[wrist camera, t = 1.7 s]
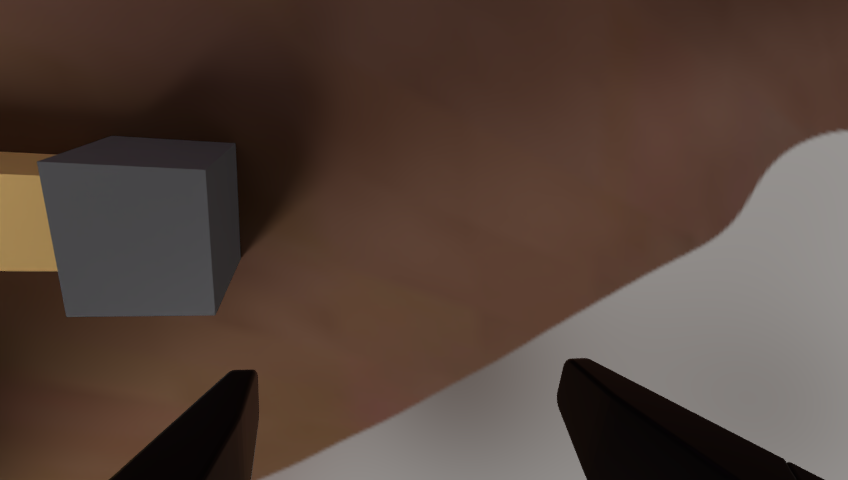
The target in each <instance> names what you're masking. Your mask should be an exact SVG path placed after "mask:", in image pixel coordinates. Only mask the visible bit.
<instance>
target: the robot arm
mask: <svg viewBox="0 0 848 480" xmlns="http://www.w3.org/2000/svg"><path fill="white" fill-rule="evenodd" d="M557 403H558V407H559V410H560V412H561V415H562V418H563V420H564V422H565V425H566V428H567V430H568V433H569V436H570V438H571V440H572V443H573V446H574V448H575V451H576V453H577V456H578V458H579V461H580V463H581V466H582V469H583V471H584V473H585V476H586V478H587V480H824V479H822V478H820V477H818V476H816V475H814V474H812V473H810V472H808V471H806V470H804V469H802V468H801V467H799V466H797V465H795V464H793V463H790V462H788V463H786V461H785V460H784V459H783V458H781V457H779V456H777V455H774V454H773V453H771V452H769V451H767V450H765V449H763V448H761V447H759V446H757V445H756V444H753V443H752V442H750V441H748V440H746V439H744V438H742V437H740V436H738V435H736V434H734V433H732V432H730V431H728V430H726V429H724V428H722V427H721V426H719V425H717V424H715V423H713V422H711V421H709V420H707V419H705V418H703V417H701V416H699V415H697V414H695V413H693V412H691V411H689V410H687V409H685V408H684V407H682V406H680V405H678V404H676V403H674V402H672V401H670V400H668V399H666V398H664V397H662V396H660V395H658V394H656V393H654V392H652V391H650V390H649V389H647V388H645V387H643V386H641V385H639V384H637V383H635V382H633V381H631V380H629V379H627V378H625V377H623V376H621V375H619V374H617V373H615V372H613V371H611V370H610V369H608V368H606V367H604V366H602V365H600V364H598V363H596V362H594V361H592V360H590V359H587V358H580V359H579V358H577V359H568V360H567V361H566V362H565V364H564V367H563V371H562V375H561V380H560V384H559V388H558V392H557ZM258 420H259V397H258V375H257V372H256V371H255V370H232V371H230V372H229V373H227V374H226V375H225V376H224V377H223V378H222V379H221V380H220V381H218V382H217V383H216V384H215V385H214V386H213V387H212V388H211V389H210V390H208V391H207V392H206V393H205V394H204V395H203V396H202V397H201V398H200V399H198V400H197V401H196V402H195V403H194V404H193V405H192V406H191V407H189V408H188V409H187V410H186V411H185V412H184V413H183V414H182V415H181V416H179V417H178V418H177V419H176V420H175V421H174V422H173V423H172V424H171V425H169V426H168V427H167V428H166V429H165V430H164V431H163V432H162V433H160V434H159V435H158V436H157V437H156V438H155V439H154V440H153V441H152V442H150V443H149V444H148V445H147V446H146V447H145V448H144V449H143V450H142V451H140V452H139V453H138V454H137V455H136V456H135V457H134V458H133V459H132V460H130V461H129V462H128V463H127V464H126V465H125V466H124V467H123V468H121V469H120V470H119V471H118V472H117V473H116V474H115V475H114V476H113V477H111V478H110V479H109V480H251V476H252V468H253V460H254V453H255V445H256V437H257V429H258Z"/></svg>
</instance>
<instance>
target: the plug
mask: <svg viewBox="0 0 848 480" xmlns="http://www.w3.org/2000/svg"><path fill="white" fill-rule="evenodd" d="M240 259H241V253H240V231H239V209H238V186H237V164H236V143H223V142H207V141H190V140H174V139H157V138H140V137H124V136H109V137H107V138H104V139H101V140H98V141H95V142H92V143H89V144H86V145H83V146H81V147H78V148H75V149H72V150H69V151H66V152H63V153H60V154H57V155H56V154H36V153H17V152H0V271H58V275H59V281H60V286H61V291H62V296H63V302H64V307H65V312H66V317H107V316H198V315H216V312H217V310H218V308H219V306H220V304H221V301H222V299H223V297H224V295H225V292H226V290H227V288H228V286H229V283H230V281H231V279H232V277H233V275H234V272H235V270H236V268H237V266H238V263H239V261H240Z"/></svg>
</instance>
